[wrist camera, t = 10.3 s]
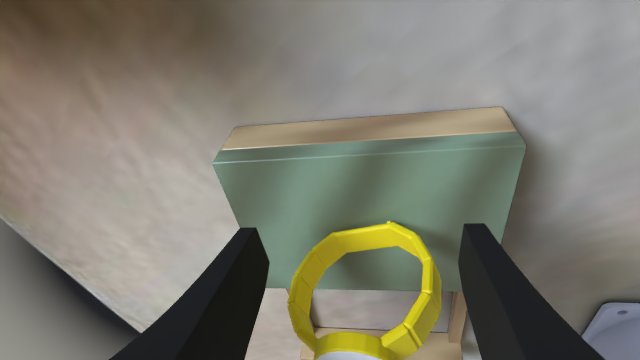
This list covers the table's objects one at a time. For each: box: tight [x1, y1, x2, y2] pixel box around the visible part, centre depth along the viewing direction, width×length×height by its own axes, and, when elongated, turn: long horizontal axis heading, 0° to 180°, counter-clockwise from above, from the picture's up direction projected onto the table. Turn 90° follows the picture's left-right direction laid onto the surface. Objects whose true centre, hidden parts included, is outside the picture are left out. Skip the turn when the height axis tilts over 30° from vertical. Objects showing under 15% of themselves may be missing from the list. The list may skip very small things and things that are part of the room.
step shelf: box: [212, 107, 527, 360], centre depth 20 cm, size 12×20×3 cm, turn 9°
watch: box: [287, 221, 441, 360], centre depth 13 cm, size 6×3×6 cm, turn 116°
